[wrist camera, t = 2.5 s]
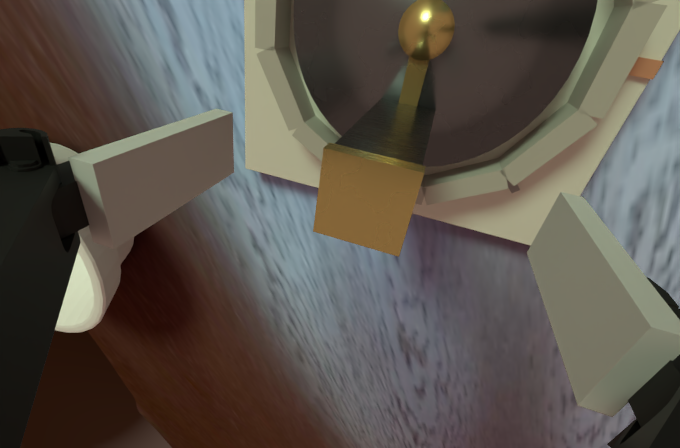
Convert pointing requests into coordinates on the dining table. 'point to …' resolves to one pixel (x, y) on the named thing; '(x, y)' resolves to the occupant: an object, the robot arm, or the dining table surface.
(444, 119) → the dial
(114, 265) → the bowl
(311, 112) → the dial board
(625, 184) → the dining table surface
